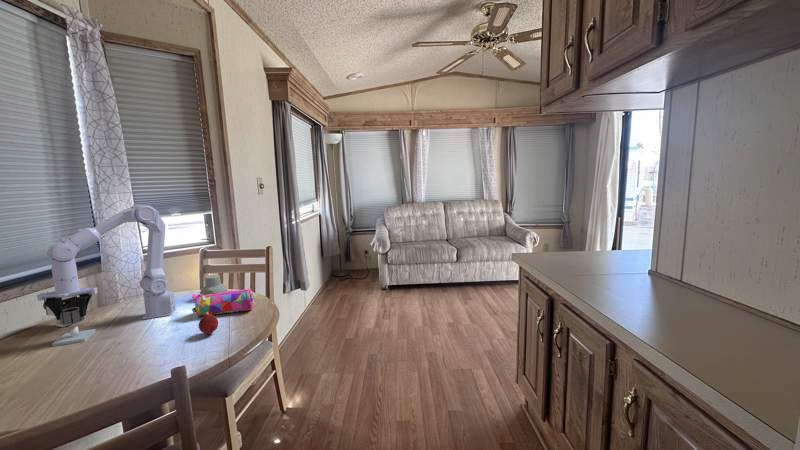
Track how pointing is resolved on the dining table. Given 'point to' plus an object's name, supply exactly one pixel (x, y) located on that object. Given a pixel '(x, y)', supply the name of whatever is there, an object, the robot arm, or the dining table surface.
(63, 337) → the square plate with peg
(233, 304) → the pencil case
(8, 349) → the dining table surface
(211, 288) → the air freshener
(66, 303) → the pneumatic valve
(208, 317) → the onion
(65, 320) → the ring
